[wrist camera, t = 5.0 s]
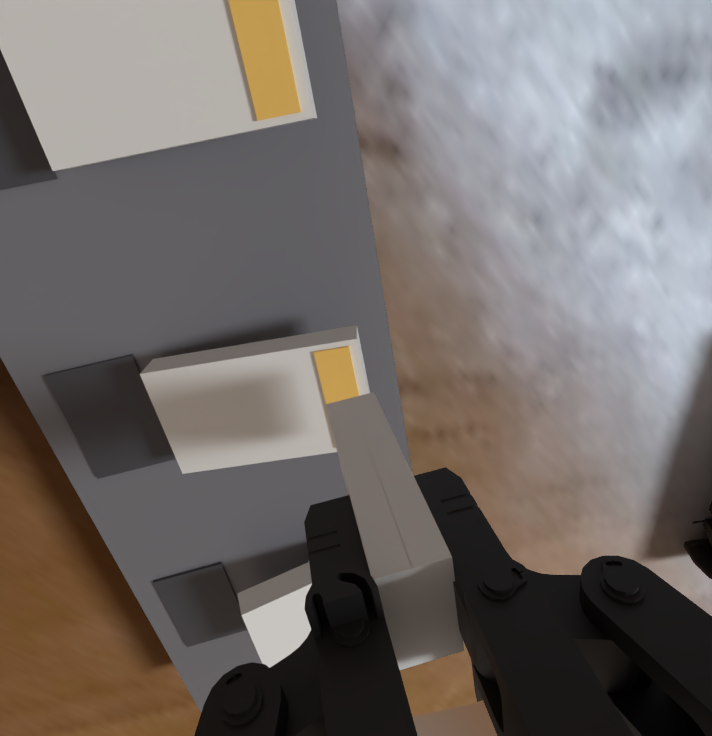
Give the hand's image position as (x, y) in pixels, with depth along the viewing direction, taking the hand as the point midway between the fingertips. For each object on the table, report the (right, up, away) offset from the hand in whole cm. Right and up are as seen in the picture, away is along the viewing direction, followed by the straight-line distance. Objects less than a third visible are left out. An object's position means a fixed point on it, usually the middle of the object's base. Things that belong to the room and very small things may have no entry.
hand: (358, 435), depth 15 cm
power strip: (-5, -1, +9) cm, 11 cm away
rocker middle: (-3, +1, +3) cm, 5 cm away
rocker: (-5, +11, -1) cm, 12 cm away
